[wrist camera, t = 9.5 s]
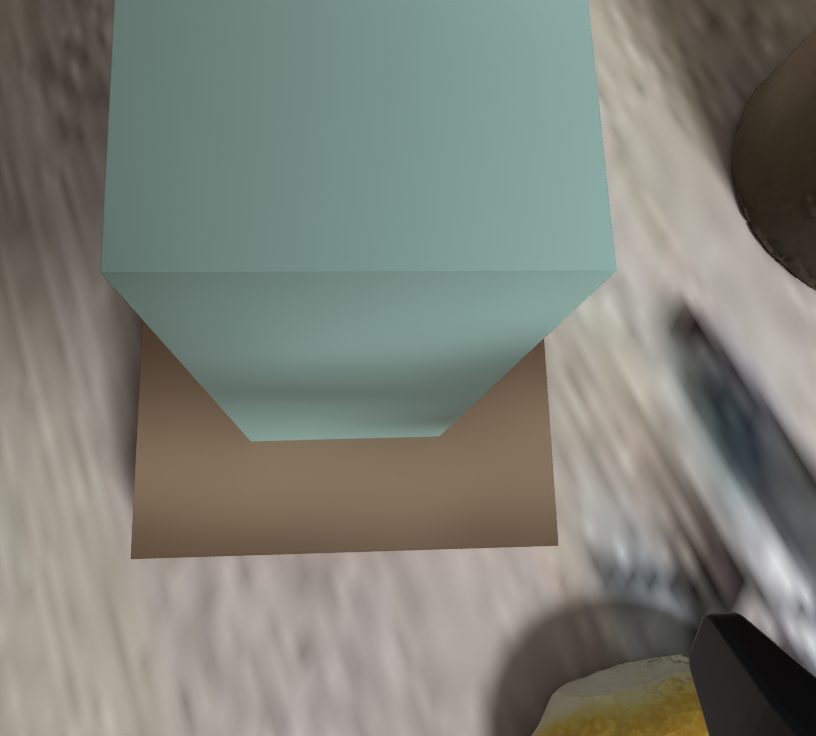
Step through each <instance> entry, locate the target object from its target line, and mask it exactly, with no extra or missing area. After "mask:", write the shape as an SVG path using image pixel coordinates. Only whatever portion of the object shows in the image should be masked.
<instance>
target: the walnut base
mask: <svg viewBox="0 0 816 736" xmlns="http://www.w3.org/2000/svg"><path fill="white" fill-rule="evenodd" d="M529 546H558V534H557V520H556V505H555V491H554V477H553V463H552V448H551V434H550V420H549V405H548V391H547V377H546V363H545V348H544V339H543V340H541V341H540V342H539V343H538V344H537V345H536V346H535V347H534V348H533V349H532V350H531V351H530V352H529V353H528V354H527V355H525V356H524V357H523V358H522V359H521V360H520V361H519V362H518V363H517V364H516V365H515V366H514V367H513V368H512V369H510V370H509V371H508V372H507V373H506V374H505V375H504V376H503V377H502V378H501V379H500V380H499V381H498V382H497V383H496V384H494V385H493V386H492V387H491V388H490V389H489V390H488V391H487V392H486V393H485V394H484V395H483V396H482V397H481V398H479V399H478V400H477V401H476V402H475V403H474V404H473V405H472V406H471V407H470V408H469V409H468V410H467V411H466V412H465V413H463V414H462V415H461V416H460V417H459V418H458V419H457V420H456V421H455V422H454V423H453V424H452V425H451V426H450V427H448V428H447V429H446V430H445V431H444V432H443V433H442V434H441V435H440V436H433V437H396V438H359V439H323V440H286V441H250V440H249V439H248V438H247V437H246V435H245V434H244V433H243V432H242V431H241V430H240V429H239V428H238V426H237V425H236V424H235V423H234V422H233V421H232V420H231V419H230V417H229V416H228V415H227V414H226V413H225V412H224V411H223V410H222V408H221V407H220V406H219V405H218V404H217V403H216V402H215V401H214V399H213V398H212V397H211V396H210V395H209V394H208V393H207V392H206V390H205V389H204V388H203V387H202V386H201V385H200V384H199V383H198V381H197V380H196V379H195V378H194V377H193V376H192V375H191V374H190V372H189V371H188V370H187V369H186V368H185V367H184V366H183V365H182V363H181V362H180V361H179V360H178V359H177V358H176V357H175V356H174V354H173V353H172V352H171V351H170V350H169V349H168V348H167V347H166V345H165V344H164V343H163V342H162V341H161V340H160V339H159V338H158V336H157V335H156V334H155V333H154V332H153V331H152V330H151V329H150V327H149V326H148V325H147V324H146V323H145V322H144V321H143V325H142V345H141V365H140V385H139V405H138V425H137V444H136V464H135V484H134V504H133V524H132V544H131V559H147V558H179V557H211V556H243V555H275V554H306V553H338V552H370V551H402V550H433V549H465V548H497V547H529Z"/></svg>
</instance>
